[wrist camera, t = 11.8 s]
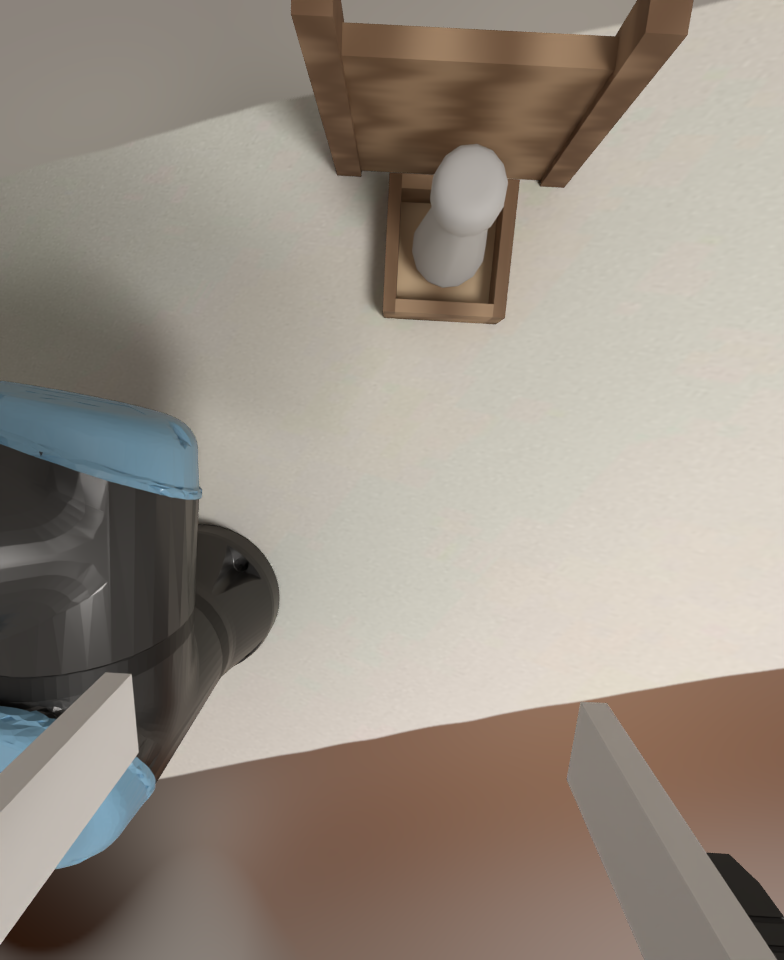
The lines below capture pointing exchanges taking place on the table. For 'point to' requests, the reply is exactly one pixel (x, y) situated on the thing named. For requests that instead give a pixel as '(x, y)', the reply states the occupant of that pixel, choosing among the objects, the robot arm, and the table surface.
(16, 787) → the robot arm
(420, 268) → the salt shaker
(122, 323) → the table surface
